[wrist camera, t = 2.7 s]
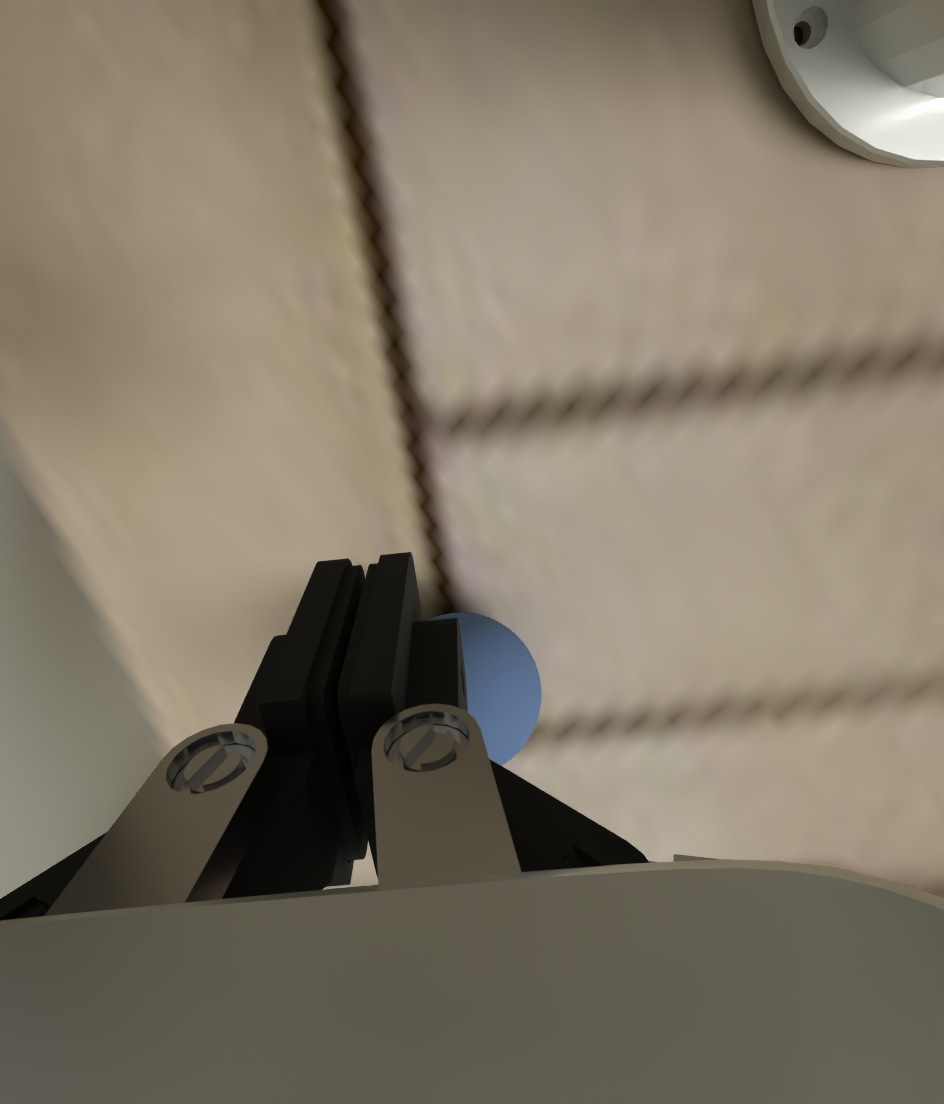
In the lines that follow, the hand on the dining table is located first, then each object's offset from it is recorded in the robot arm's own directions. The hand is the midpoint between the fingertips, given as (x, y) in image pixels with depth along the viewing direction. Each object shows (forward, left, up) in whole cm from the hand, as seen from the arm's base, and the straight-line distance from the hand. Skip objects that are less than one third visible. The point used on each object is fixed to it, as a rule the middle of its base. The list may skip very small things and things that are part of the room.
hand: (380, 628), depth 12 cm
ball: (+9, 0, -9) cm, 13 cm away
